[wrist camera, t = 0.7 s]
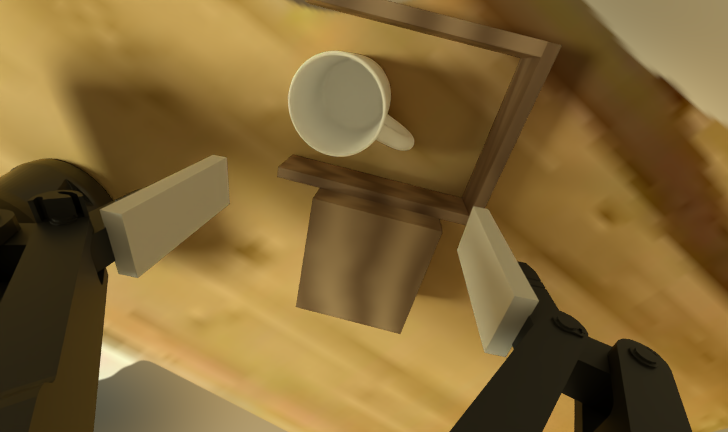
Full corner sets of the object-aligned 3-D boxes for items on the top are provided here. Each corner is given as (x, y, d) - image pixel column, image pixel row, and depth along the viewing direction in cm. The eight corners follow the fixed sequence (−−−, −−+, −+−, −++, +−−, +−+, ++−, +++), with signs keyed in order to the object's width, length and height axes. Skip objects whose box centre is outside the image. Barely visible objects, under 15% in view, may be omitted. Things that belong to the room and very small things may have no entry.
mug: (434, 103, 33) (445, 119, 24) (390, 163, 37) (386, 196, 28) (342, 36, 31) (316, 26, 22) (306, 106, 35) (272, 122, 26)
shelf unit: (281, 261, 46) (258, 297, 39) (311, -11, 30) (282, -33, 23) (427, 298, 46) (431, 342, 39) (538, 47, 30) (580, 43, 22)
